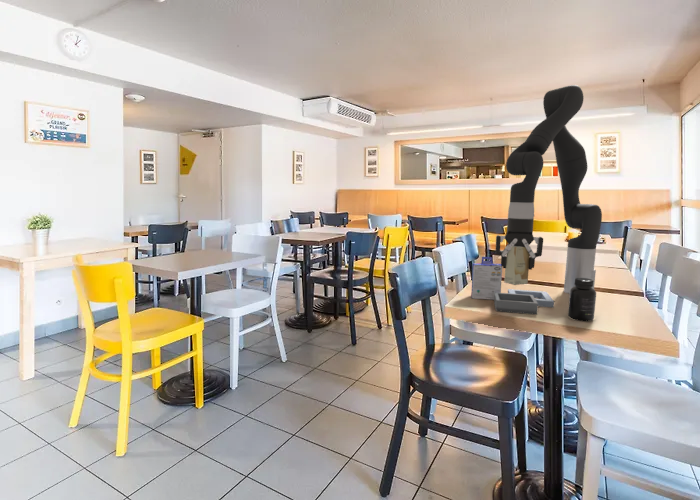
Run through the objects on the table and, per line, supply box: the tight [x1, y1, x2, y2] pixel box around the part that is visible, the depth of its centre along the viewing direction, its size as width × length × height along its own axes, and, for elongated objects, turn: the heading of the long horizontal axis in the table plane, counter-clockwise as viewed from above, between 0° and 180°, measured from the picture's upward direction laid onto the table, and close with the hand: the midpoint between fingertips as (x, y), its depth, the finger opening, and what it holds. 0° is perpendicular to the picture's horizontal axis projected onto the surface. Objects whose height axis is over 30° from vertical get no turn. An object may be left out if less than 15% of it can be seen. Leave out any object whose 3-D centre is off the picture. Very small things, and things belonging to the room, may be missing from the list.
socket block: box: [507, 288, 555, 308], centre depth 143 cm, size 13×14×2 cm
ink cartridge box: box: [470, 256, 503, 301], centre depth 145 cm, size 10×6×14 cm, turn 79°
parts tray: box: [493, 292, 539, 315], centre depth 133 cm, size 12×11×4 cm
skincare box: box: [503, 245, 530, 286], centre depth 131 cm, size 6×4×12 cm
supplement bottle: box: [567, 278, 597, 322], centre depth 122 cm, size 7×7×12 cm
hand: (517, 268), depth 131 cm, fingers closed on skincare box, 7 cm apart
